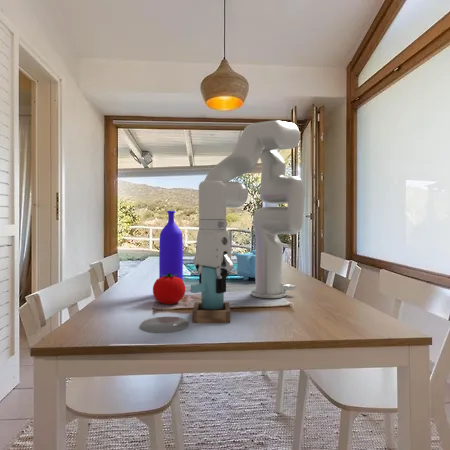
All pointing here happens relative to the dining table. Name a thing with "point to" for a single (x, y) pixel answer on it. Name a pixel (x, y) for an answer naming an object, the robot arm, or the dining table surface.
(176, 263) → the bottle
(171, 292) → the tomato
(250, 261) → the light blue cushion
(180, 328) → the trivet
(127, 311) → the dining table surface
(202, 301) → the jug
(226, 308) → the cradle
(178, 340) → the dining table surface
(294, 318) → the dining table surface
